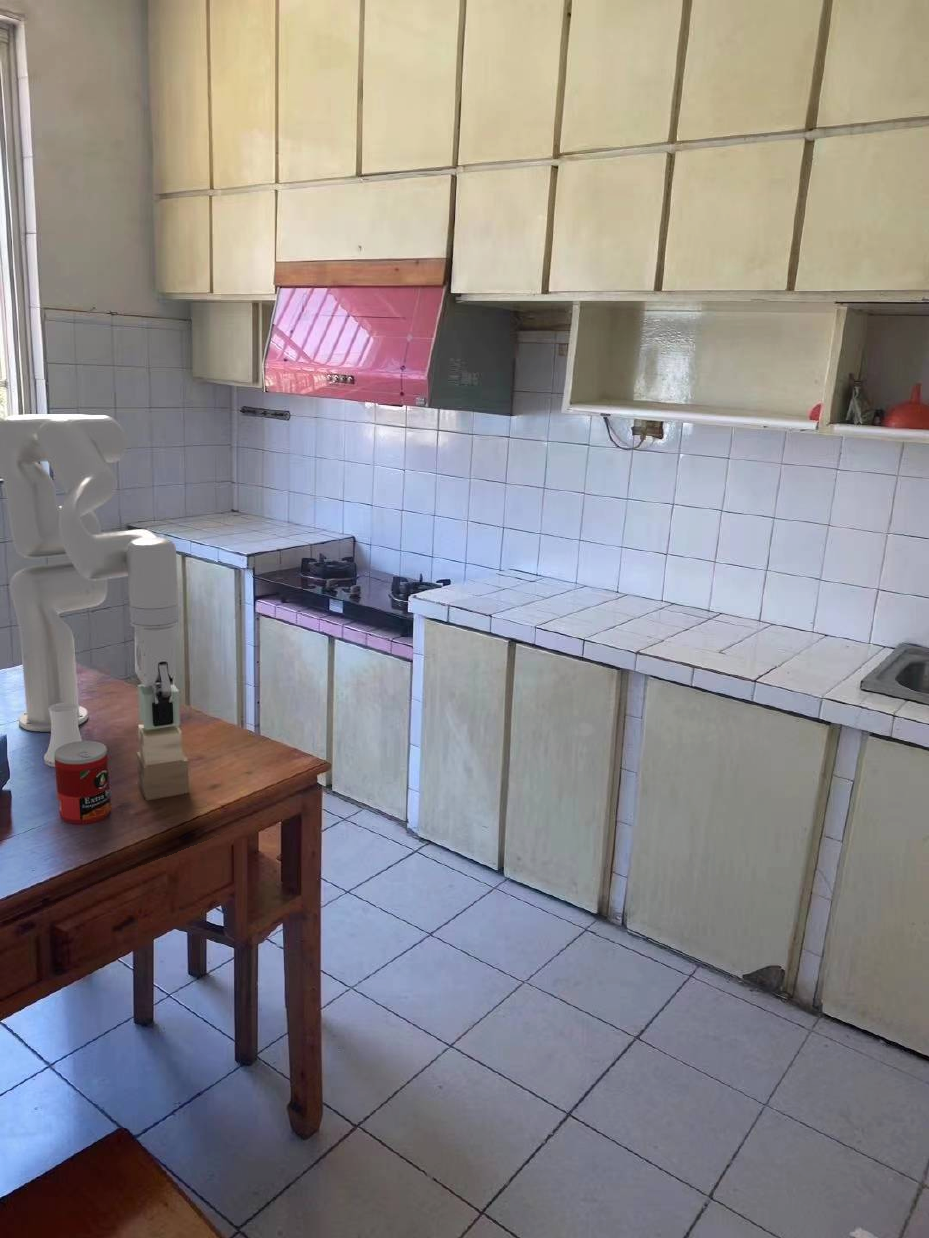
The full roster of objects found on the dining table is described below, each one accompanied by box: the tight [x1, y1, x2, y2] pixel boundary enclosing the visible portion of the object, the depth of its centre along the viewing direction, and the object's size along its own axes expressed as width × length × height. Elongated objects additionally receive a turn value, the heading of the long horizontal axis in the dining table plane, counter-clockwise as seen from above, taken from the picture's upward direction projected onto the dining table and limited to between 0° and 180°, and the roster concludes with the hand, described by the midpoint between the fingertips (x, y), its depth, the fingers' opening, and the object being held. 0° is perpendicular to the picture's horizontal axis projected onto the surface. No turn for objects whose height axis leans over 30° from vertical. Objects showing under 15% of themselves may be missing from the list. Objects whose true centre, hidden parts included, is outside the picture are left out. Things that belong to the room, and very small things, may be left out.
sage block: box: [137, 682, 181, 730], centre depth 154 cm, size 6×6×6 cm
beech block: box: [137, 723, 183, 766], centre depth 155 cm, size 6×6×5 cm
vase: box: [43, 703, 83, 768], centre depth 166 cm, size 8×8×10 cm
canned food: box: [54, 740, 112, 825], centre depth 146 cm, size 8×8×11 cm
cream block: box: [136, 751, 190, 801], centre depth 157 cm, size 7×7×6 cm
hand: (159, 717), depth 154 cm, fingers closed on sage block, 5 cm apart
